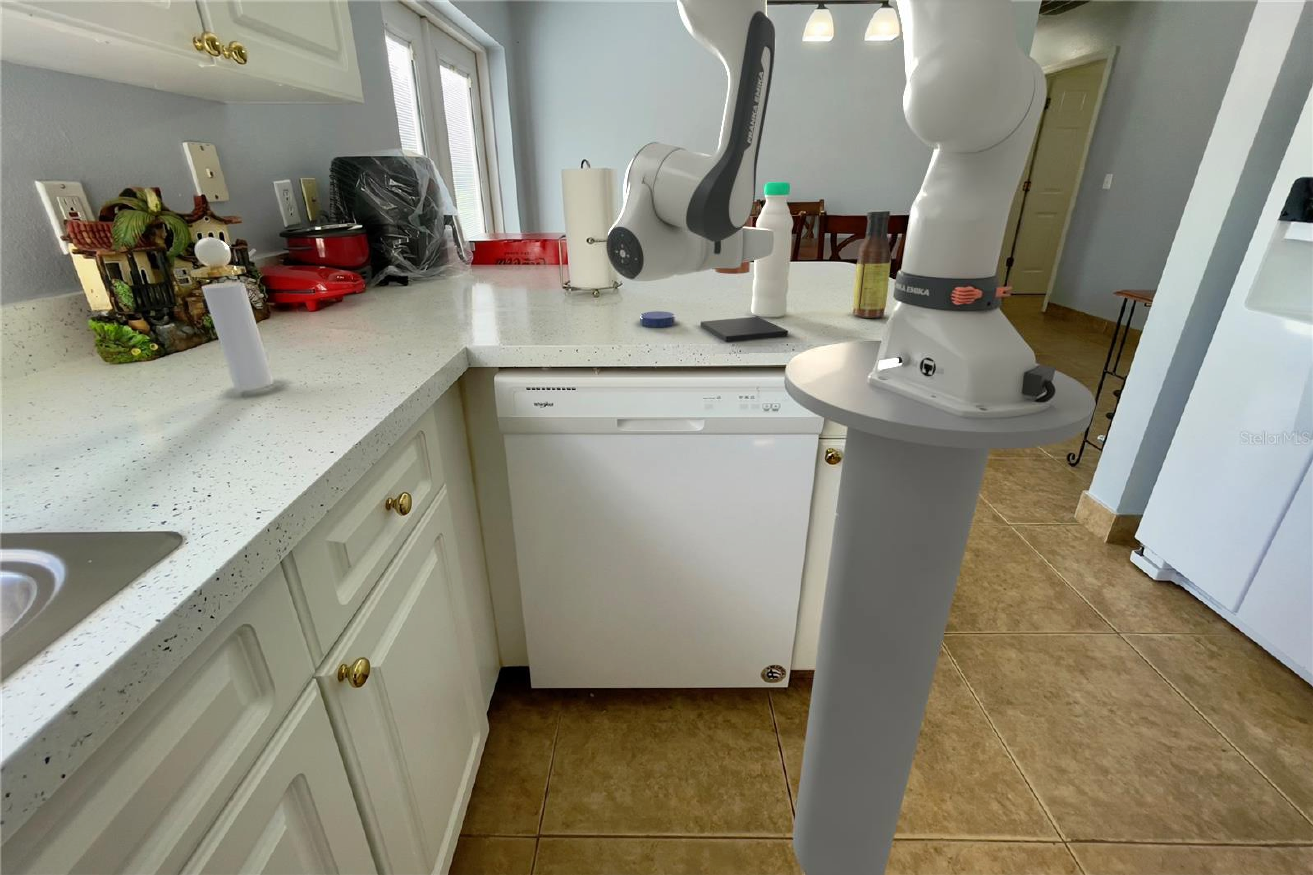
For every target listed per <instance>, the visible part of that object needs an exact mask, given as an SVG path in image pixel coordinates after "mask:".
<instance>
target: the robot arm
mask: <svg viewBox="0 0 1313 875" xmlns="http://www.w3.org/2000/svg"><path fill="white" fill-rule="evenodd" d="M767 1H768V0H677V1H676V2H677V3H676V4H677V7H678V11H679V15H680V18H681V20H682V22H683V24H684V26H685V28H686V30H687V31H688V33H689V34H690V35H691V36H692V37H693V39H694V40H696V41H697V42H698V43H699V44H700V45H701V46H702V47H704V48H705V49H706V50H708V51H709V52H710V53H711V54H712V55H714V56H715V57H717V58H718V59H719V60H720V61H721V62H722V63H723V65H724V67H725V70H726V72H727V76H728V87H727V93H726V100H725V105H724V112H723V119H722V122H721V123H722V124H721V131H720V136H719V141H718V142H719V143H718V146H717V149H716V151H715V152H714V153H713V154H712V155H709V154H706V153H702V152H698V151H697V152H696V151H692V150H688V149H686V148H683V147H680V146H675V145H670V144H666V143H665V144H664V143H661V142H658V141H653V142H650V143H648V144H646V145H644V146H643V147H641V148H640V150H638V151H637V152H636V153H635V155H633V157H632V159H631V161H629V162H630V163H629V164H628V167H627V169H626V172H625V175H624V180H623V192H622V194H623V196H622V197H623V206H622V210H621V213H620V215H619V217H618V219H617V220H616V221H615V223H614V224H613V225H612V226H611V228H610V229H609V231H608V234H607V236H606V241H605V243H606V244H605V248H606V254H607V257H608V260H609V262H610V264H611V266H612V267H613V268H614V270H615V271H616V272H617V273H618V274H619V275H621V276H622V277H623V278H625V279H627V280H630V281H634V282H652V281H659V280H664V279H669V278H671V277H673V276H684V275H691V274H693V273H701V272H705V271H710V270H715V269H733V268H738V267H740V266H741V263H743V262H749V261H750V262H753V261H754V260H757V259H760V258H763V257H766V256H769V255H770V254H771V253H772V251H773V244H774V234H773V231H772V230H769V229H761V228H756V227H752V228H750V227H744V226H745V224H746V223H747V222H748V220H749V218H750V216H752V213H753V209H754V205H755V199H756V185H757V184H756V183H757V182H756V181H757V168H758V160H759V155H760V154H759V153H760V149H761V142H762V136H763V131H764V126H765V120H766V114H767V110H768V105H769V104H768V103H769V97H770V92H771V85H772V79H773V74H774V66H775V59H776V46H777V37H776V36H777V35H776V29H775V26H774V23H773V21H772V20H771V19H770V18H769V16H768V13H767ZM896 2H897V7H898V10H899V15H900V18H901V24H902V32H903V42H904V43H903V44H904V61H905V62H904V63H905V78H906V84H905V88H904V92H903V99H902V100H903V101H902V102H903V103H902V104H903V105H902V106H903V108H902V109H903V113H904V117H905V121H906V123H907V125H908V126H909V128H910V130H911V131H912V132H913V133H914V134H915V136H916V137H917V138H918V139H919V140H920V141H922V142H923V143H924V144H925V145H926V146H928V147H930V148H931V149H933V152H932V155H931V159H930V162H929V165H928V167H927V171H926V173H925V177H924V180H923V182H922V184H921V187H920V189H919V191H918V193H917V196H916V197H915V199H914V200H913V203H912V204H911V206H910V211H909V216H908V217H909V218H908V222H907V223H908V224H907V230H906V235H905V242H904V248H903V254H902V263H901V268H900V269H899V270H898V271H897V272H896V276H895V277H896V278H895V280H894V284H893V287H894V289H893V295H892V297H893V298H894V300H895V302H894V306H893V308H892V311H891V313H890V315H889V317H888V319H887V321H886V324H885V325H884V330H883V333H882V338H881V340H880V341H881V345H880V349H879V353H878V357H877V360H876V364H875V366H874V369H873V372H871V373H870V374H869V376H868V380H867V383H869V384H871V385H873V386H876V387H879V388H882V389H884V390H887V391H890V392H893V393H895V394H898V395H901V396H904V397H906V398H909V399H912V400H915V401H917V402H920V403H923V404H926V405H928V406H931V407H934V408H937V409H939V410H942V411H945V412H948V413H950V414H953V415H956V416H959V417H964V418H978V419H994V418H1008V417H1016V416H1023V415H1029V414H1033V413H1037V412H1041V411H1044V410H1046V409H1047V408H1049V407H1050V406H1051V402H1052V398H1053V396H1054V395H1055V391H1056V390H1055V386H1054V385H1053V383H1052V380H1053V377H1054V373H1055V370H1056V369H1057V368H1056V367H1054V366H1053V367H1052V366H1048V365H1043V364H1040V365H1038V366H1036V363H1037V361H1036V354H1035V352H1034V351H1033V349H1032V347H1030V346H1029V344H1028V343H1027V342H1026V341H1025V340H1024V338H1023V337H1022V335H1021V334H1020V332H1018V331H1017V329H1016V328H1015V327H1014V326H1013V324H1012V323H1011V322H1010V320H1009V319H1008V318H1007V316H1006V315H1005V314H1004V313H1003V311H1002V310H1001V309H1000V307H1001V306H1002V297H1010V296H1012V295H1011V293H1004V292H1007V291H1011V290H1012V289H1013V287H1012V286H1000V280H999V276H998V275H997V273H996V272H997V268H998V263H999V259H1000V256H1001V251H1002V250H1001V249H1002V246H1003V242H1004V238H1005V232H1006V229H1007V225H1008V219H1009V215H1010V211H1011V208H1012V205H1013V201H1014V198H1015V195H1016V192H1017V189H1018V187H1019V183H1020V181H1021V179H1022V175H1023V173H1024V170H1025V167H1026V164H1027V161H1028V158H1029V155H1030V152H1031V149H1032V146H1033V143H1034V139H1035V137H1036V133H1037V130H1038V127H1039V123H1040V120H1041V116H1042V114H1043V111H1044V109H1045V106H1046V101H1047V92H1048V91H1047V90H1048V89H1047V86H1048V85H1047V78H1046V75H1045V72H1044V70H1043V68H1042V67H1041V65H1040V63H1038V62H1037V61H1036V60H1035V59H1034V58H1033V57H1031V56H1030V55H1028V54H1026V53H1025V52H1024V51H1023V50H1022V48H1021V46H1020V43H1019V41H1018V37H1017V34H1016V27H1015V20H1014V12H1013V3H1012V0H896ZM1056 371H1057V370H1056ZM1046 391H1047V392H1046ZM1044 392H1046V394H1045V393H1044Z"/></svg>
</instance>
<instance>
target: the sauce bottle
mask: <svg viewBox="0 0 1313 875" xmlns="http://www.w3.org/2000/svg"><path fill="white" fill-rule="evenodd" d="M890 218H891V211H890V210H882V209H881V210H867V215H866V219H867V222H866V223H867V225H866V232H865V237H864V239H863V241H862V243H861V244H860V246H859V248H858V252H857V261H856V269H855V279H854V291H853V299H852V300H853V301H852V308H853V310H852V315H853V316H855V317H858V318H862V319H863V318H864V319H877V318H882V317H883V316H884V315H885V311H886V307H887V299H888V290H889V282H890V272H891V263H892V255H891V254H892V253H891V248H890V242H889V237H888V227H889V220H890Z"/></svg>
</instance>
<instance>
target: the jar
mask: <svg viewBox="0 0 1313 875" xmlns="http://www.w3.org/2000/svg"><path fill="white" fill-rule="evenodd" d="M744 227H750V228H753V216H752V215H750V218H749V220H748V222H747V223H746V224H745V226H744ZM714 270H715V271H714V272H716V273H718V274H724V275H725V274H726V275H740V274H748V273H750V270H751V261H749V262H743V263H741V266H740V267H738V268H733V269H714Z"/></svg>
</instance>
